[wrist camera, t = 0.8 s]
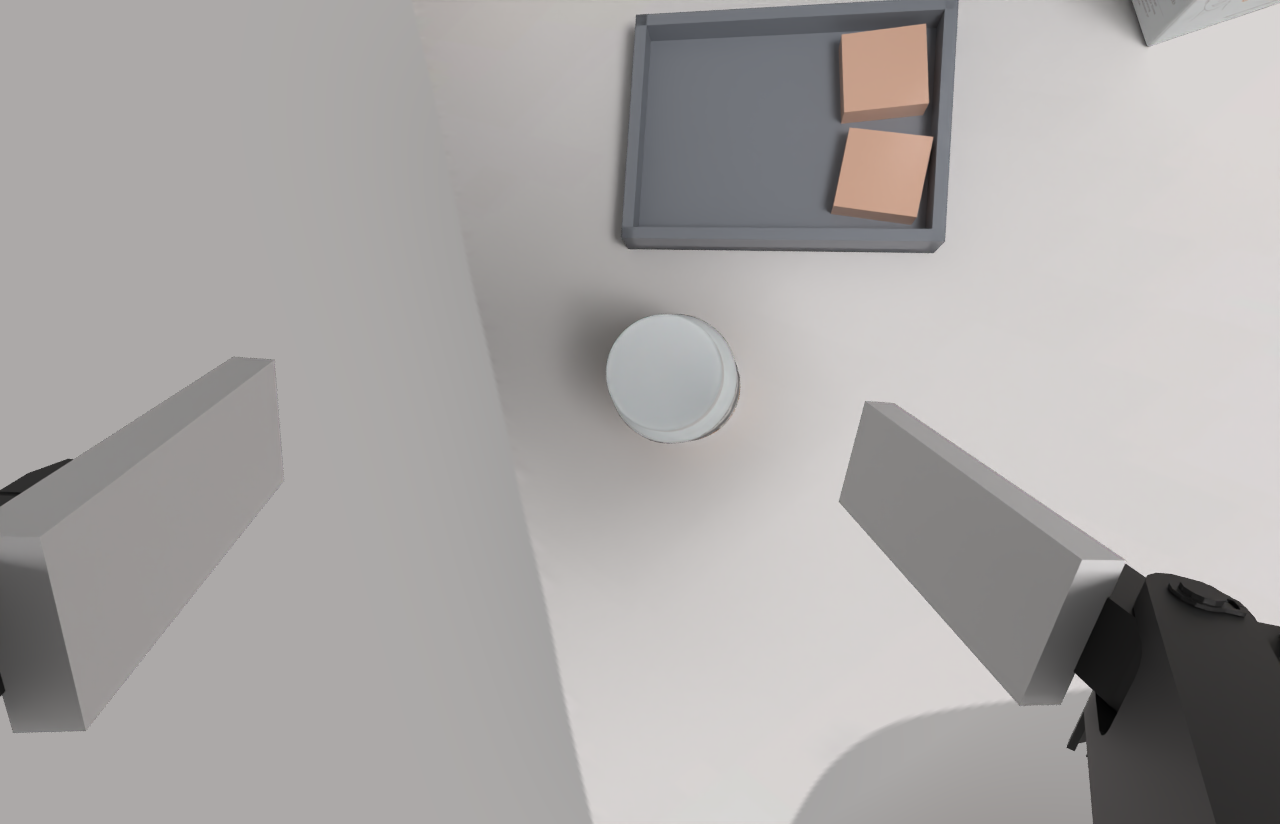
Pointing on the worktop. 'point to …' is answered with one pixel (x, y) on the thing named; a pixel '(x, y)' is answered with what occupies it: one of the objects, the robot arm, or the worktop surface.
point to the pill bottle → (672, 378)
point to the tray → (770, 129)
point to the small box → (1188, 15)
